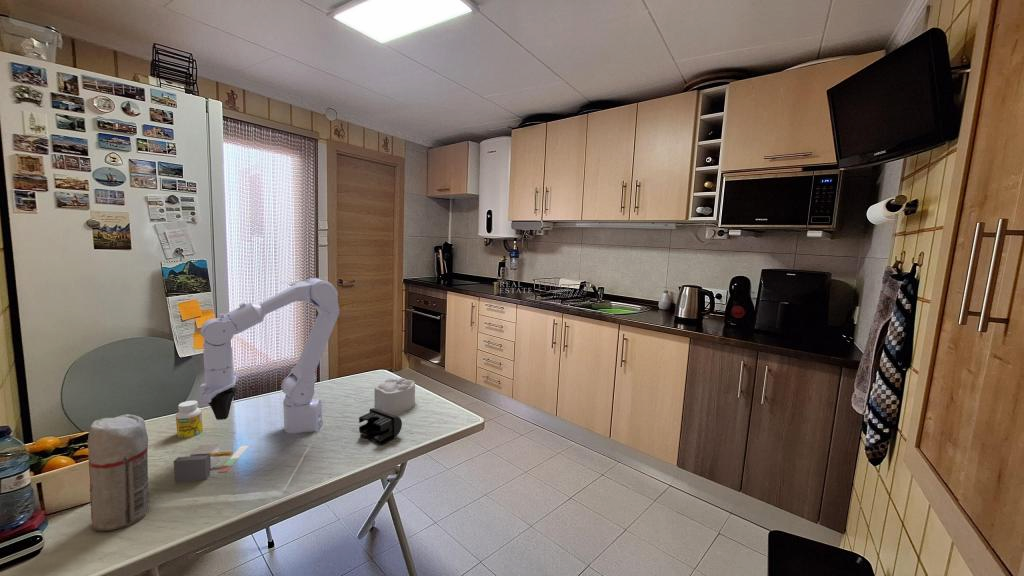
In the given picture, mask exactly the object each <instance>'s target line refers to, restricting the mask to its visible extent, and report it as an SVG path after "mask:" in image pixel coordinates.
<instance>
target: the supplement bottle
mask: <svg viewBox="0 0 1024 576" xmlns="http://www.w3.org/2000/svg"><path fill="white" fill-rule="evenodd" d="M198 406H199V404H198V401H197V400H186V401H183V402H180V403H179V404H178V412H177V413H176V415H175V421H176V422H175V423H176V433H177V438H180V439H187V438H188V439H189V438H192V437H195V436H196V437H197V436H198V435H200V434H202V433H203V432H204V431H203V430H204V429H203V427H204V426H203V413H202V409H201V408H200V407H198Z"/></svg>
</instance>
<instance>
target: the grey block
mask: <svg viewBox="0 0 1024 576" xmlns="http://www.w3.org/2000/svg"><path fill="white" fill-rule="evenodd" d="M205 455H209V466H210V470H212V469H213V468H214V467H215V466H216V465H217V464H218V462H219V461H221V457H228V456H230V457H232V456H233V455H234V453H233V451H221V450H220V444H203V445H202V444H201V445H199V446H198V447H196V448H195V450H194V451H193V452H191V453H190V454H189V457H190V456H205Z"/></svg>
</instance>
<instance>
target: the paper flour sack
mask: <svg viewBox="0 0 1024 576" xmlns="http://www.w3.org/2000/svg"><path fill="white" fill-rule="evenodd" d="M87 437H88V438H87V449H88V450H87V451H88V472H89V473H88V474H89V493H90V494H89V496H90V500H89V501H90V504H89V505H90V510H91V511H90V514H91V515H90V517H91V523H92V524H91V530H92V531H96V532H107V531H112V530H118V529H121V528H122V529H123V528H125V527H129V526H130V525H132V524H134V523H136V522H139V521H140V520H142V519H143V518H144V517H145V516H146V514H148V511H149V509H150V506H149V505H150V501H149V499H150V498H149V497H150V496H149V494H150V492H149V472H148V470H149V468H148V467H149V465H148V463H149V461H148V457H149V456H148V455H149V454H148V449H149V448H148V446H149V435H148V433H147V427H146V422H145V419H144V418H142V417H140V416H138V415H134V414H128V413H127V414H122V415H117V416H115V417H103V418H100V419H96V420H94V421H93V422H92V423H91V425H90V427H89V431H88V436H87Z"/></svg>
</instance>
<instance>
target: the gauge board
mask: <svg viewBox="0 0 1024 576" xmlns="http://www.w3.org/2000/svg"><path fill="white" fill-rule="evenodd" d="M249 447H250V445H241V446H240V447H239V448H237V449H236V451H235V452H234V453H233V454H232V455H231V456H230V458H229V459H228V460H227V461H226V462H225V463H224V465H223V466H222V467H221V468H220V469H219V470H218V471H217V473H219V474H220V473H227V472H229V470H230V469H231V468H232V466H234V464H235V463H236V462H237V461H238V460H239V459H240V457H241V456H242V455H243V453H245V451H246V450H247V449H248V448H249ZM173 472H174V482H175V483H179V482H183V483H184V482H192V481H193V482H196V481H197V482H198V481H206V480H208V479H209V477H211V471H210V466H209V455H205V456H190V455H189V456H179V457H178V456H177V458H175V459H174V460H173Z"/></svg>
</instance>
